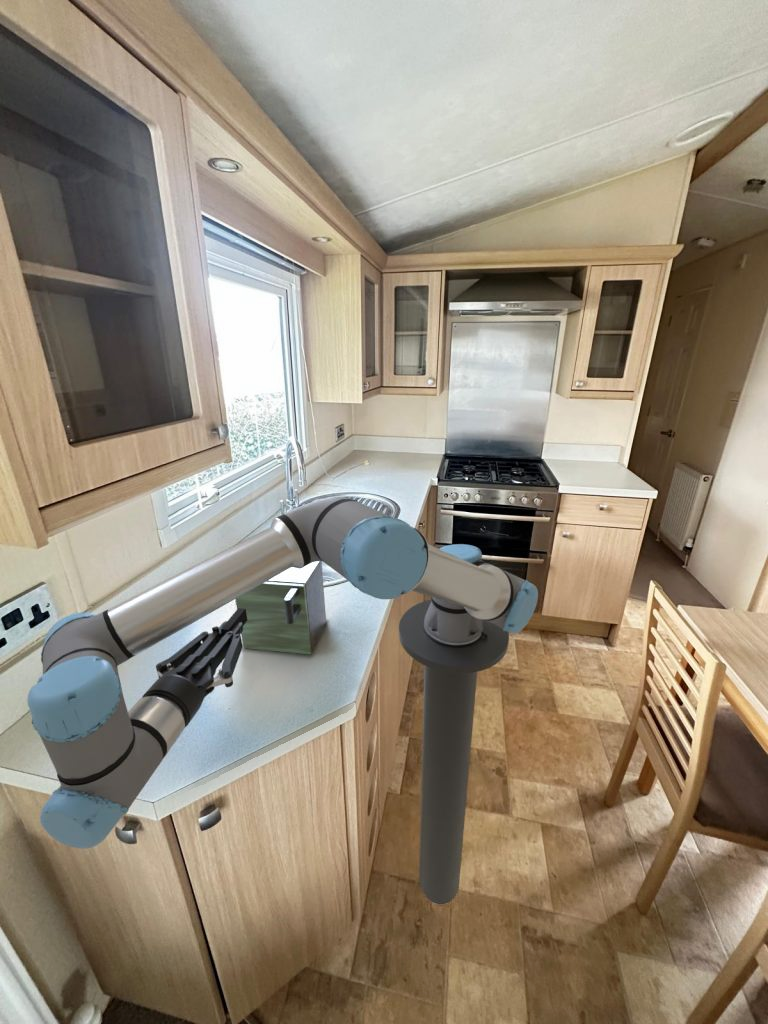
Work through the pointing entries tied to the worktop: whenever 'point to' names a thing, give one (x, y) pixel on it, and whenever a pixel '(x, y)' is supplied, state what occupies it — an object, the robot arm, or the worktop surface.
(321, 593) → the cupboard
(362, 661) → the worktop surface
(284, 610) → the door
